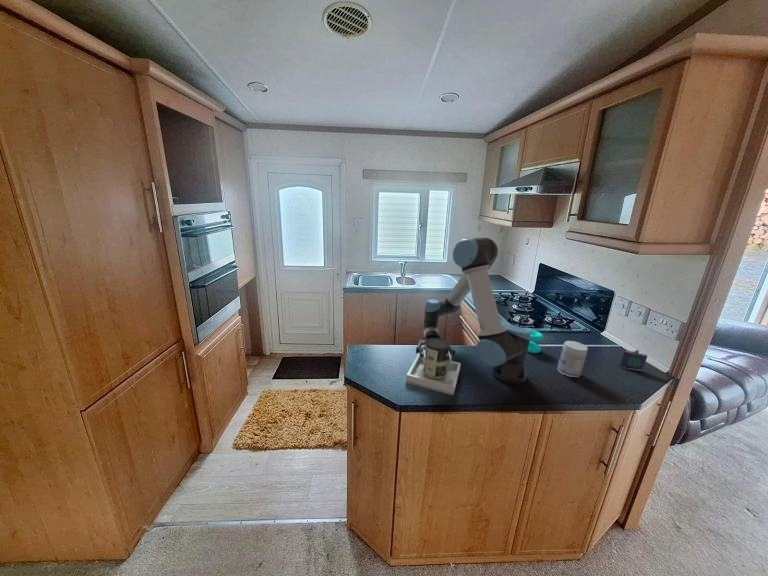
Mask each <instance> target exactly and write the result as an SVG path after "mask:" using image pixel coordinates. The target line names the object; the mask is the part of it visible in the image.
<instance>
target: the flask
mask: <svg viewBox="0 0 768 576" xmlns="http://www.w3.org/2000/svg"><path fill="white" fill-rule="evenodd" d="M647 359H648V354H645V353H640V351H639V349H635V351H632V350H624V351H623V354H622V358H621V361H620V365H619V366H622V367H626V368H633V369H643V370H644V368H645V365H646V361H647Z"/></svg>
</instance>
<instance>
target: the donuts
mask: <svg viewBox="0 0 768 576" xmlns="http://www.w3.org/2000/svg"><path fill="white" fill-rule="evenodd" d="M526 330H527V331H529V332H530V335H531V336H530V342H529V347H528V351H527V353H531V354H538V353H541V351H542V347H541V346H540V345H539V344H538V342H542V341H543V340H544V339H545V338H544V337H545V336H544V335H543V333H541V332H540V331H537V330H533V329H526Z"/></svg>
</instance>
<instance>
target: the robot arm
mask: <svg viewBox="0 0 768 576" xmlns="http://www.w3.org/2000/svg"><path fill="white" fill-rule="evenodd" d="M498 254H499V248H498V244H496V242H495V241H494V240H493V239H491V238H488V237H475V238H474V237H468V238H463V239H461V240H460V241H458V242H457V243H456V244H455V246H454V248H453V251H452V260H453V262H454V263H455V264H456V266H458V267H460V268H461V273H462V275H461V276H460V278H459V280H458V281H457V282H456V284H455V286H454V287H453V288H452V289H451V291H450V292H449V294H448V295H447V297H446V298H445V300H444V301H440V300H438V299H435V298H434V299H431V298H429V299H427V300H426V302H425V305H424V315H423V316H424V317H423V323H422V327H421V328H422V332H423V337H424V340H423V339H422V338H419V339H418V344H416V345H417V346H416V347H415V354H420V356H421V357H423V362H424V363H425V362H426V354H425V347H426V340H427V339H430V338H440V339H441V335H440V332H439V328H438V327H439V320H440V318H441V317H444V316H448V315H453V314H455V313H458V312H459V311H460V309H461V303H462V302H463V300H464V299H465V298H466V296H467V295H468V294H469V292H470V293H471V298H472V301H473V306H474V310H475V314H476V317H477V321H478V326H479V331H478V333H477V336H478V340H479V341H478V342H477V343H476V345H475V351H476V355H477V357H478V358H479V359H480V361H481V362H483V363H484V364H485V365H487V366H489V367H491V368H490V373H491V374H492V375H493V376H494V377H496V379H498V380H500V381H503V382H505V383H509V384H516V385H517V384H523V383H525V382H526V380H527V376H528V373H527V372H528V371H527V368H526V359H527V355H528V352H527V351H528V347H529V342H530V336H531V335H530V332H529V331H527V330H528V329H526V328H523V327H520V326H517V325H513V324H505V325H503V326H502V323H501V319H500V314H499V310H498V307H497V303H496V299H495V296H494V292H493V287H492V283H491V280H490V276H489V272H488V271H489V270H490V268H492V266H493V265H494V263H495V262H496V260H497V257H498ZM455 356H456V350H455V348H453V346H452V345H451V344H450V347H449V354H448V362H449V365H451V361H453V357H455Z"/></svg>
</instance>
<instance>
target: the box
mask: <svg viewBox="0 0 768 576" xmlns="http://www.w3.org/2000/svg"><path fill="white" fill-rule="evenodd" d="M461 365H462V363H461V362H457V361H453V360H452V361H451V365H449V362H447V370H446V376H444V377H443V378H432V377H429V376H427V375H426V374H424V372H423V368H424V362H423V357H421V356H420V353H417V356H416V357H415V359H414V361H413V363H412V365H411V366H410V368H409V369H408V372H407V373H406V376H405V377H406V379H405V383H406V384H408V385H412V386H416V387H420V388H423V389H427V390H430V391H433V392H438V393H441V394H446V395H449V396H452V397H453V396H454V395H455V391H456V388H457V387H456V386H457V383H458V379H459V375H460V371H461V367H462V366H461Z"/></svg>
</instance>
